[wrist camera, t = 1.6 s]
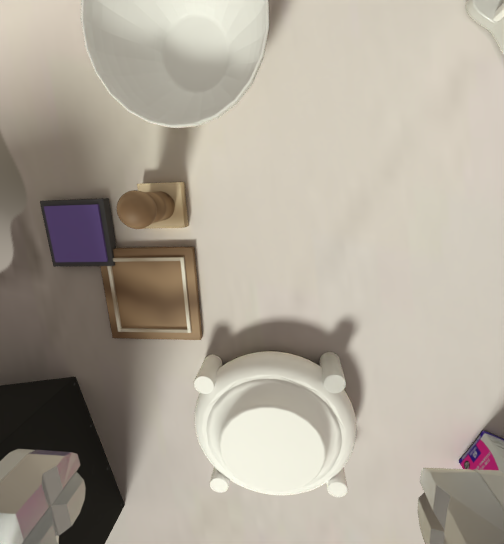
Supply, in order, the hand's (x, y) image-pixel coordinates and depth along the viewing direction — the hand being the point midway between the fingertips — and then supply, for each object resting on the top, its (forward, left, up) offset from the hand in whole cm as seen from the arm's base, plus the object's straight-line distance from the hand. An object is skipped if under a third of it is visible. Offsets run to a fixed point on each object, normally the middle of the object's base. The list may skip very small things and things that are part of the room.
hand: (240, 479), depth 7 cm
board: (+6, -16, -31) cm, 35 cm away
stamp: (-5, -13, -31) cm, 34 cm away
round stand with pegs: (+23, -1, -31) cm, 39 cm away
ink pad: (-2, -24, -31) cm, 39 cm away
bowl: (-20, -8, -31) cm, 38 cm away
